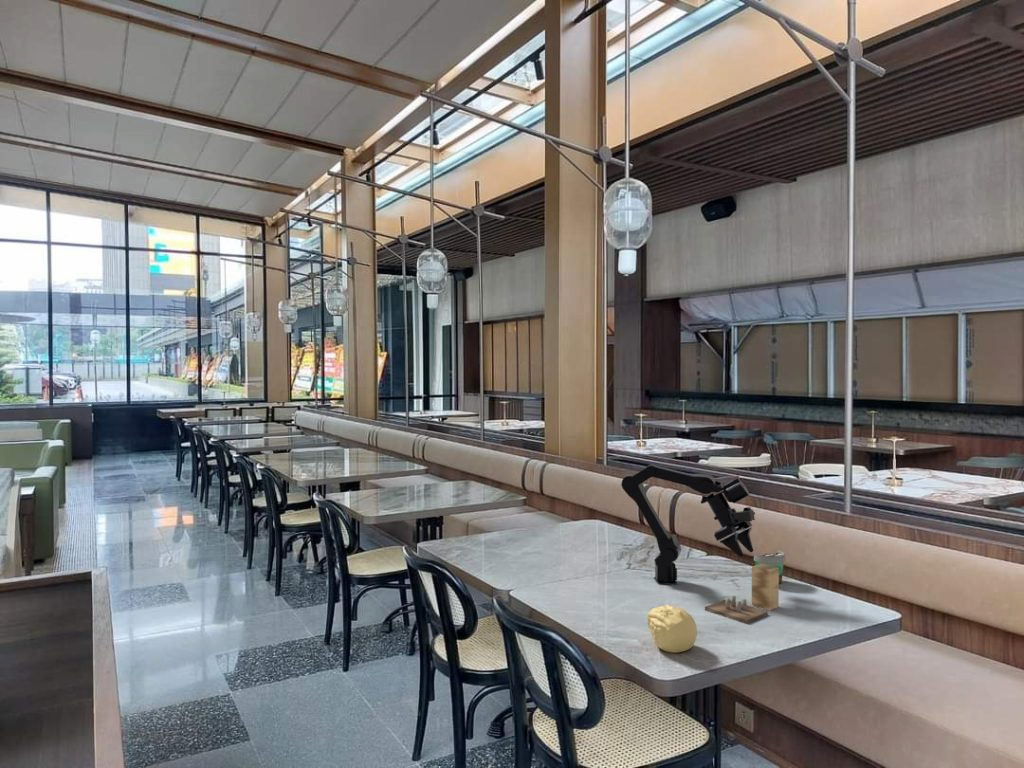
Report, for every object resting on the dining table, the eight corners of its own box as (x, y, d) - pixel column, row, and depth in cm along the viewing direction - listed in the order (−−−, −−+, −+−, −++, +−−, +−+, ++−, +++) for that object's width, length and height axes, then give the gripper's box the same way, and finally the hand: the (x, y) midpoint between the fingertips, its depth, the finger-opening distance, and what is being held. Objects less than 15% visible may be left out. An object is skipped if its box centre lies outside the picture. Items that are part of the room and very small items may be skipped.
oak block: (751, 605, 203) (751, 566, 203) (760, 601, 206) (760, 563, 206) (769, 610, 199) (769, 571, 198) (778, 607, 202) (778, 567, 202)
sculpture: (640, 643, 175) (640, 602, 174) (676, 635, 180) (677, 596, 180) (668, 660, 164) (668, 617, 164) (705, 651, 169) (706, 610, 169)
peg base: (704, 610, 199) (704, 596, 199) (726, 602, 206) (726, 589, 206) (746, 623, 188) (746, 609, 188) (767, 615, 195) (767, 601, 195)
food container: (767, 589, 218) (768, 559, 218) (753, 583, 224) (753, 554, 224) (793, 583, 224) (793, 554, 224) (778, 578, 230) (778, 550, 229)
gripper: (732, 501, 207) (759, 548, 201) (752, 496, 221) (778, 539, 216) (703, 517, 212) (728, 563, 207) (724, 511, 227) (749, 553, 221)
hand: (747, 554), depth 212 cm, fingers open, 9 cm apart
